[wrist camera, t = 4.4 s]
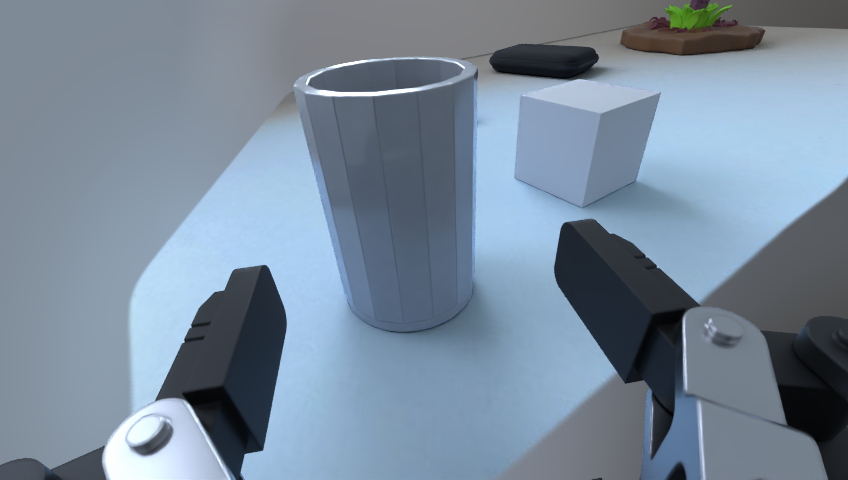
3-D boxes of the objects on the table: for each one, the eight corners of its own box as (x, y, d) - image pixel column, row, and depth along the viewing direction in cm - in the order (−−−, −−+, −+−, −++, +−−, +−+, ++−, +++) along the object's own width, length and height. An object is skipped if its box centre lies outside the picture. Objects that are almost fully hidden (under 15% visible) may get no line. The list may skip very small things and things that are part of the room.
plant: (599, 44, 74) (612, -25, 68) (679, 33, 78) (698, -33, 72) (687, 58, 58) (714, -30, 52) (780, 44, 62) (816, -39, 56)
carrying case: (604, 66, 57) (519, 60, 66) (608, 44, 56) (520, 40, 64) (572, 81, 51) (483, 72, 60) (576, 56, 49) (484, 50, 58)
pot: (325, 322, 17) (255, 97, 12) (371, 243, 22) (339, 59, 17) (464, 341, 16) (462, 95, 10) (479, 251, 21) (484, 54, 15)
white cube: (581, 208, 24) (600, 113, 21) (513, 178, 28) (520, 95, 25) (636, 180, 27) (661, 91, 23) (566, 156, 31) (578, 78, 27)
